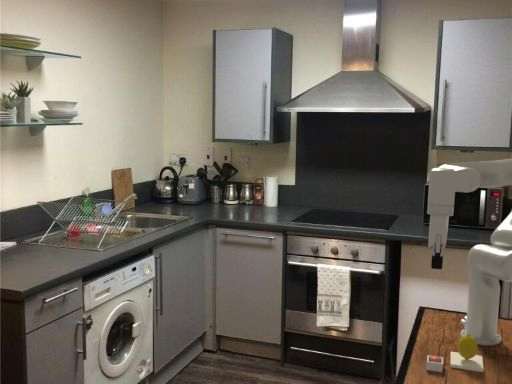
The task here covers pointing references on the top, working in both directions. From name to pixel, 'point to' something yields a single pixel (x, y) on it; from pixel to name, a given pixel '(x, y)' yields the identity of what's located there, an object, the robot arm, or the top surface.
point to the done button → (435, 359)
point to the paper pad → (467, 362)
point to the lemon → (467, 346)
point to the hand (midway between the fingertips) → (436, 268)
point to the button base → (434, 364)
